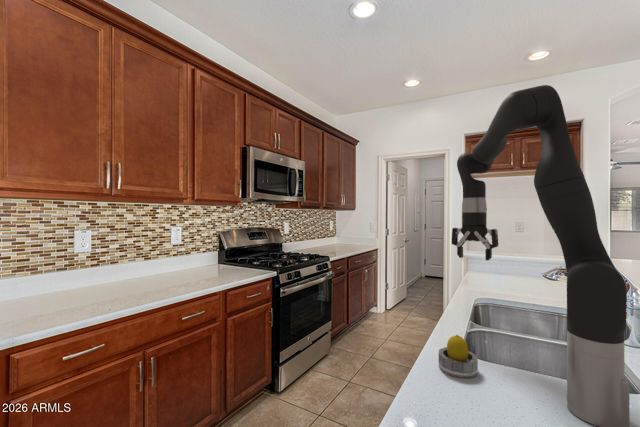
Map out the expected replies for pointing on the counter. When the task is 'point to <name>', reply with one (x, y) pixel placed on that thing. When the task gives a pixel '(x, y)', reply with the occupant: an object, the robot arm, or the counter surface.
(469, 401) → the counter surface
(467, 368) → the holder
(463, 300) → the counter surface
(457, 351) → the lemon
